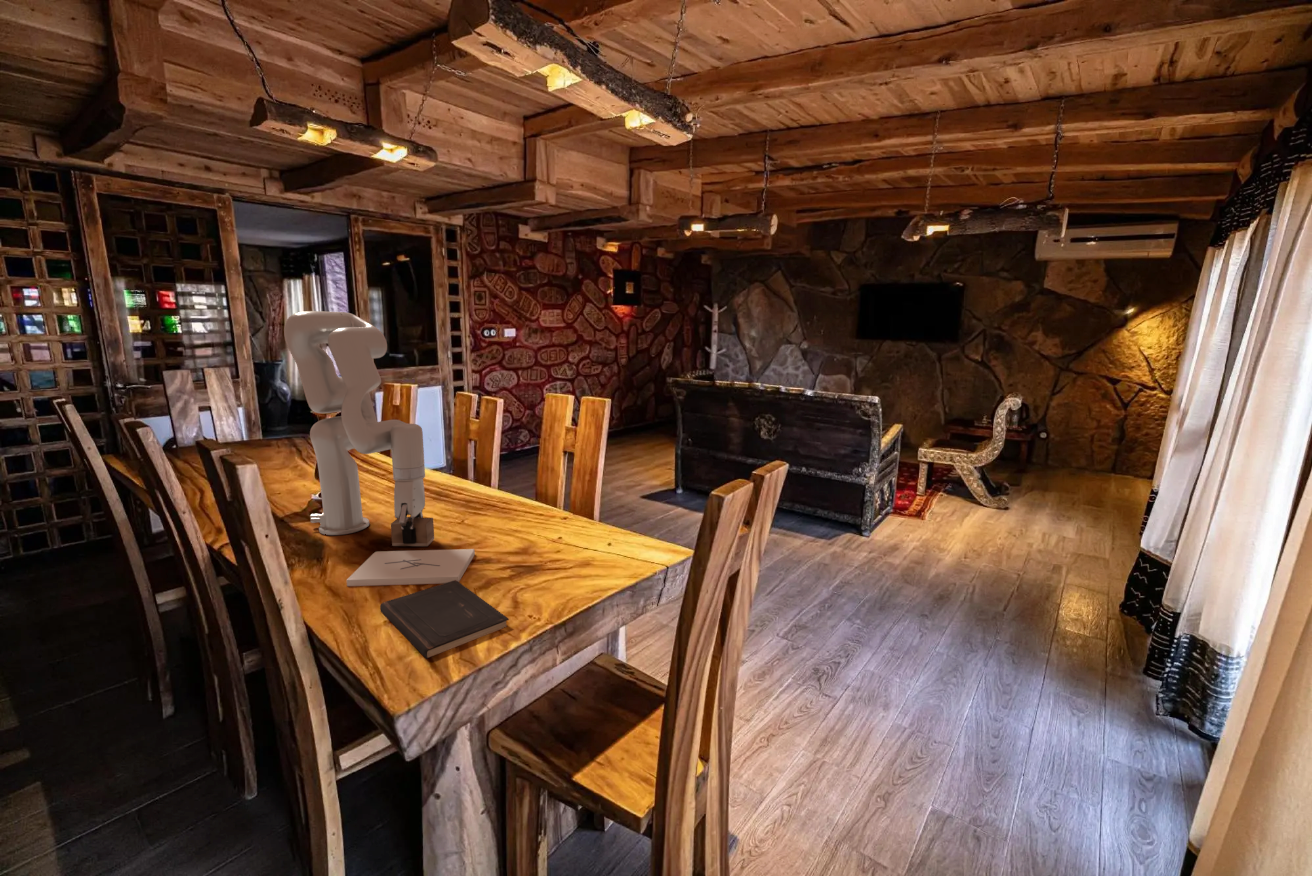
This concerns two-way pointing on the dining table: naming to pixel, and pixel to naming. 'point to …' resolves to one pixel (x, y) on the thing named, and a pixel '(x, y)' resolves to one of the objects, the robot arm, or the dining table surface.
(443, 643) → the hardcover book
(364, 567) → the board
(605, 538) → the dining table surface
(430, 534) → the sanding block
